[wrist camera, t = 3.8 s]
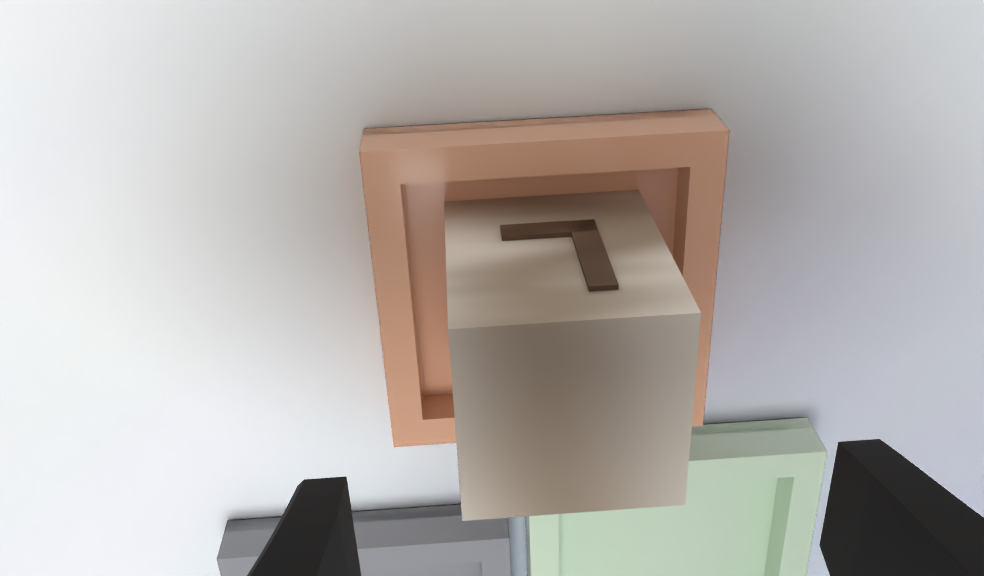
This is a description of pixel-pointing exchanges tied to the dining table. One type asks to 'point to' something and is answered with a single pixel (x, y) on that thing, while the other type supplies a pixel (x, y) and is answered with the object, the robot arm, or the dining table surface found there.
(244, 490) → the dining table surface
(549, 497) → the letter block
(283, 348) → the dining table surface
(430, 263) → the terracotta dish
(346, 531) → the robot arm
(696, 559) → the green dish
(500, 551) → the grey dish
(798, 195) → the dining table surface
